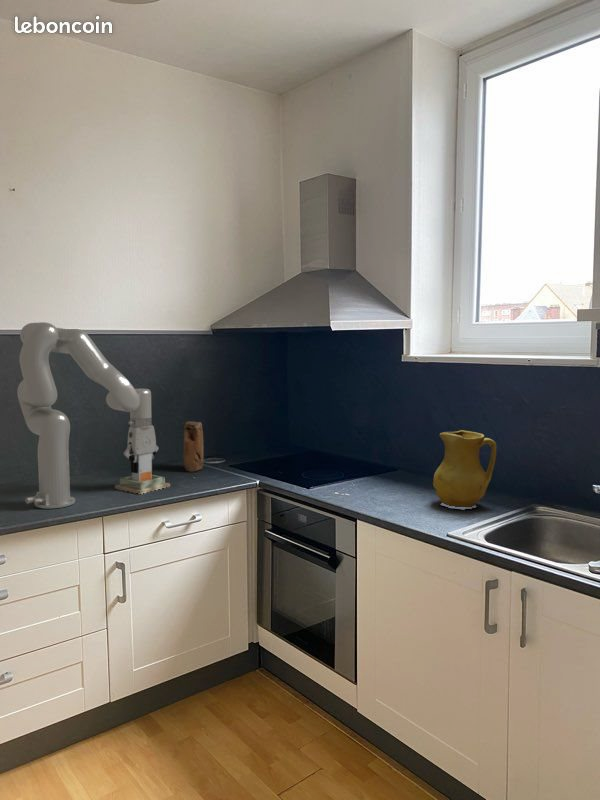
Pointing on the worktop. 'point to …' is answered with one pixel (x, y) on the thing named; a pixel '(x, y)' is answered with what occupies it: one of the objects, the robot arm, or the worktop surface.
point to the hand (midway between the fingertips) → (141, 470)
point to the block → (193, 446)
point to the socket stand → (142, 484)
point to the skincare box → (143, 468)
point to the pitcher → (463, 469)
